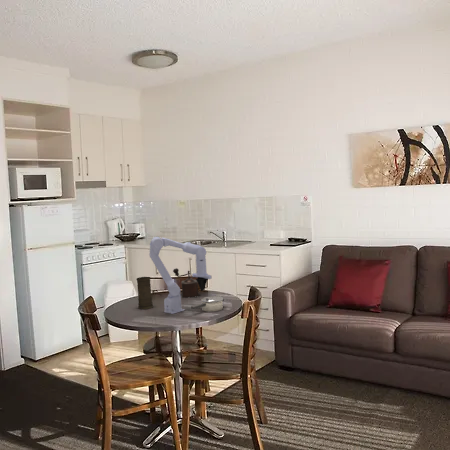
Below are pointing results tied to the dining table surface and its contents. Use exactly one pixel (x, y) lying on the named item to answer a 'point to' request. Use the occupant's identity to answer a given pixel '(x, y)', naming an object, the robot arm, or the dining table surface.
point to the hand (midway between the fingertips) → (202, 290)
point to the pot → (210, 306)
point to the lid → (212, 299)
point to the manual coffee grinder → (188, 285)
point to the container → (144, 293)
